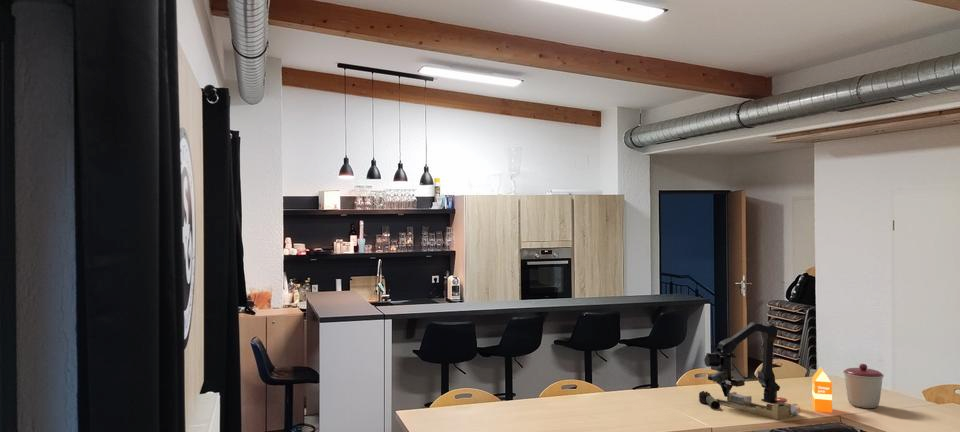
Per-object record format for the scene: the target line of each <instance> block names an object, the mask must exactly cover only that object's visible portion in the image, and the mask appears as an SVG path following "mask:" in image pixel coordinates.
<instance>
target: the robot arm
mask: <svg viewBox="0 0 960 432" xmlns="http://www.w3.org/2000/svg"><path fill="white" fill-rule="evenodd" d="M755 332H760V334H761V338H762V340H763V346H762V347H763V348H762V368H761V370H758V371H757V378H756V379H757V380H758V383H759V384H760V385H761V388H763V398H761V399H760V400H761V401H762V400H763V402H766V401H767V403H770V402H771V403H770V404H774V403H778V401H776V398H778V392H779V391H780V390H781V386H780V385H779V384H778V383H777V382H776V376H775V373H774V370H773V366H774V363H773V362H774V346H775V345H774V344H775V340H776V339H777V337H778V332H779V329H778V327H777V326H776V325H775V324H771V323H767V322H765V323H763V324H762V323H756V322H753V321H751V322H749V323H748V325H745V326H744V327H743V328H742V329H740V330H739V331H737V333H735V334H734V335H732V336H731V337H727V338H724V339H723V340H720V342H719V343H718V345H717V347H716V349H714V352H711V353H709V352H707V353H706V355H705V357H704V365H705V366H706V367H708V368H709V367H711V368H712V367H713V368H714V367H718V368H717V371H716V372H714V373H709V374H708V375H707V380H708V381H713V382H714V383H716V384H718V385H719V386H720V388H721V390H722V393H723V395H724V397H726V398H727V393H731V390H732V388H733V387H743V386H744V387H745V385H746V384H745V383H746V382H745V380H744V379H740V378H734V376H733V374H732V373H733V371H734V368H733V367H732V365H733V364H732V363H733V362H732V361H733V360H732V359H734V358H737V357H736V355H735V354H734V351H735V350H736V349H737V347H738V345H739V344H741V343H742V342H743V341H744V340H746V339H747V338H749V337H750V336H751V335H753V334H754V333H755Z"/></svg>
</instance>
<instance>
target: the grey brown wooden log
mask: <svg viewBox="0 0 960 432" xmlns="http://www.w3.org/2000/svg"><path fill="white" fill-rule="evenodd" d="M716 399H717V398H716ZM716 399H715V398H714V397H713V396H712V395H711V393H710V392H708V391H707V390H706V391H705V390H702V391H700V392H699V393H698V401H699V403H700V404H707V405H708V406H710V407H711V408H712V409H713V410H719V409H720V408H721V404H720V403H719V402H718V401H717V400H716Z"/></svg>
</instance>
